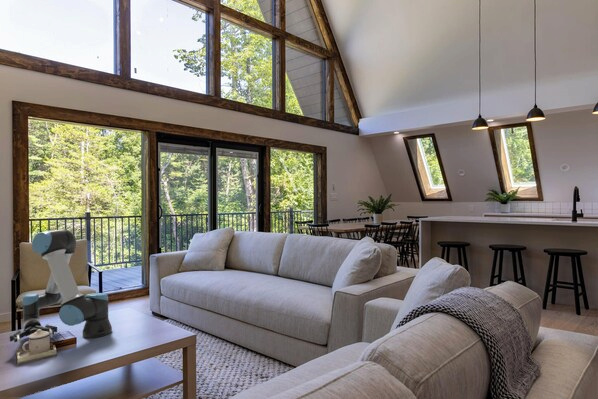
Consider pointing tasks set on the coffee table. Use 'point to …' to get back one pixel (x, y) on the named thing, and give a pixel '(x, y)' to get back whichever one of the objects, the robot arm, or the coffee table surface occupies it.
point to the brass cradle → (36, 355)
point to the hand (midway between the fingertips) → (35, 338)
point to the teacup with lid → (38, 342)
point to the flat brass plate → (23, 353)
